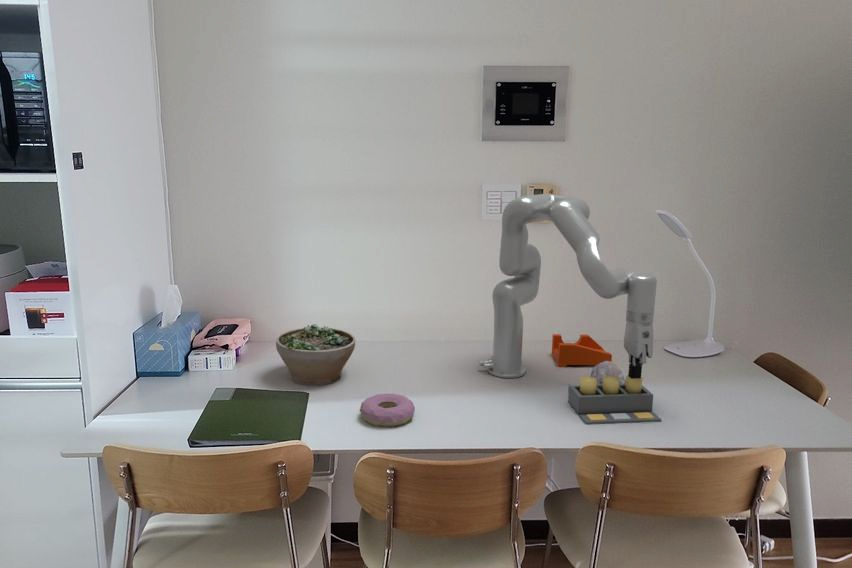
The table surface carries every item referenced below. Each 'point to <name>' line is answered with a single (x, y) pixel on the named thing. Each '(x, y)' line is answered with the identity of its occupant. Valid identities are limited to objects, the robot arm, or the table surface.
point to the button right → (633, 385)
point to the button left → (588, 385)
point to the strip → (619, 418)
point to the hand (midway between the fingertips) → (634, 377)
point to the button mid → (610, 385)
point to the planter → (315, 354)
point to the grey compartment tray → (610, 401)
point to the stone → (607, 372)
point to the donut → (387, 410)
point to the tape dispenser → (578, 352)
